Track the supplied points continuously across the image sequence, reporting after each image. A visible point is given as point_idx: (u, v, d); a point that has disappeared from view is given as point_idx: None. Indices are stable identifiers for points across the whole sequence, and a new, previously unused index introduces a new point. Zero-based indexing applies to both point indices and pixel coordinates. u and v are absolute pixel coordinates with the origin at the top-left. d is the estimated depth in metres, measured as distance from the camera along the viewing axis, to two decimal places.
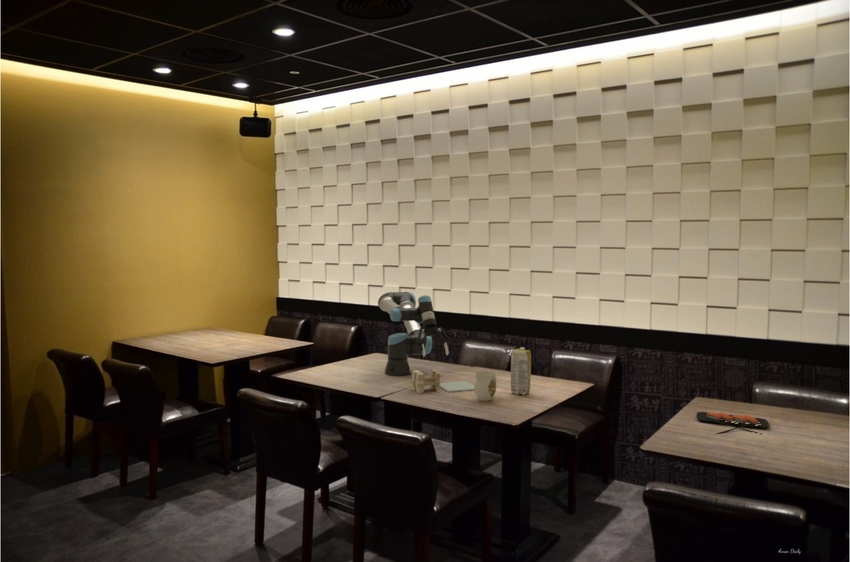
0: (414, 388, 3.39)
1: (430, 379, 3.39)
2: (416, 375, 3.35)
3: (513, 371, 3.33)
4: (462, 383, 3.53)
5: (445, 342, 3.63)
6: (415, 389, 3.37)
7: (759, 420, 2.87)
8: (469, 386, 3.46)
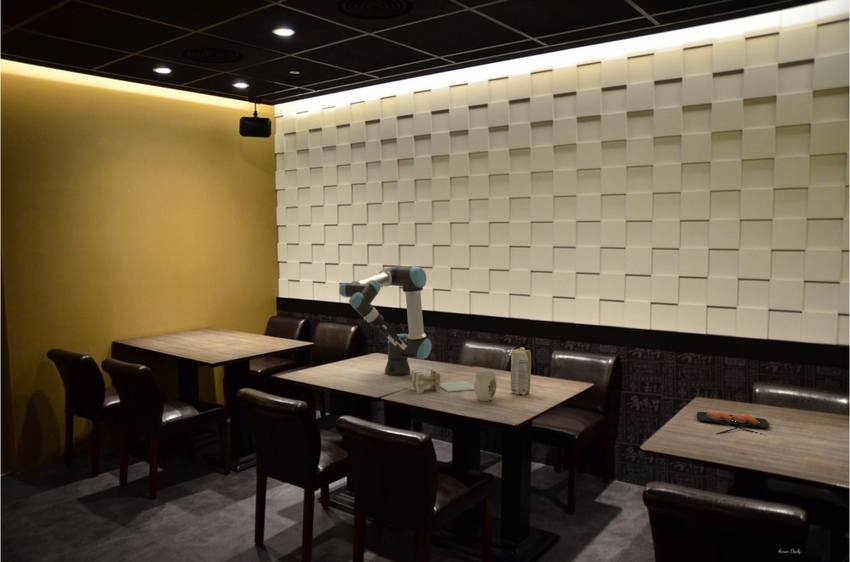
0: (414, 388, 3.39)
1: (430, 379, 3.39)
2: (416, 375, 3.35)
3: (513, 371, 3.33)
4: (462, 383, 3.53)
5: (396, 338, 3.25)
6: (415, 389, 3.37)
7: (759, 420, 2.87)
8: (469, 386, 3.46)
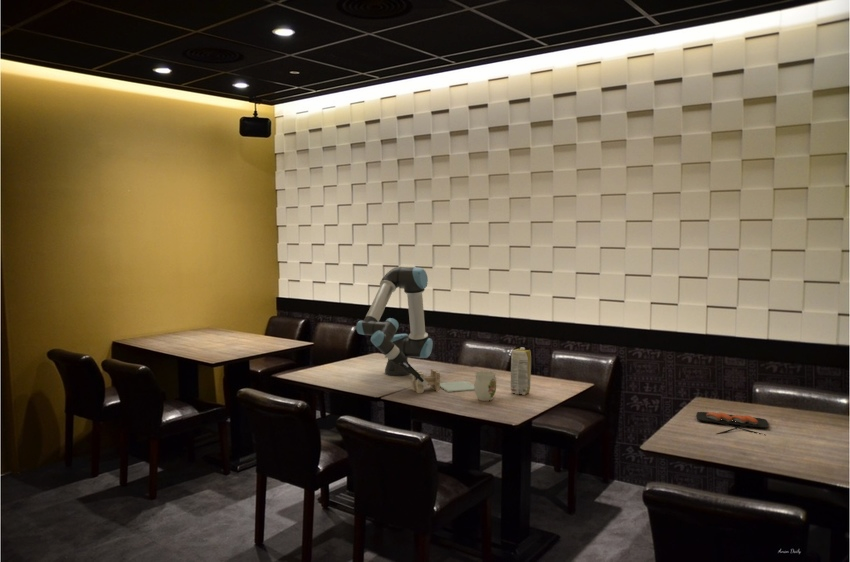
0: (414, 388, 3.39)
1: (430, 379, 3.39)
2: None
3: (513, 371, 3.33)
4: (462, 383, 3.53)
5: None
6: (415, 389, 3.37)
7: (759, 420, 2.87)
8: (469, 386, 3.46)
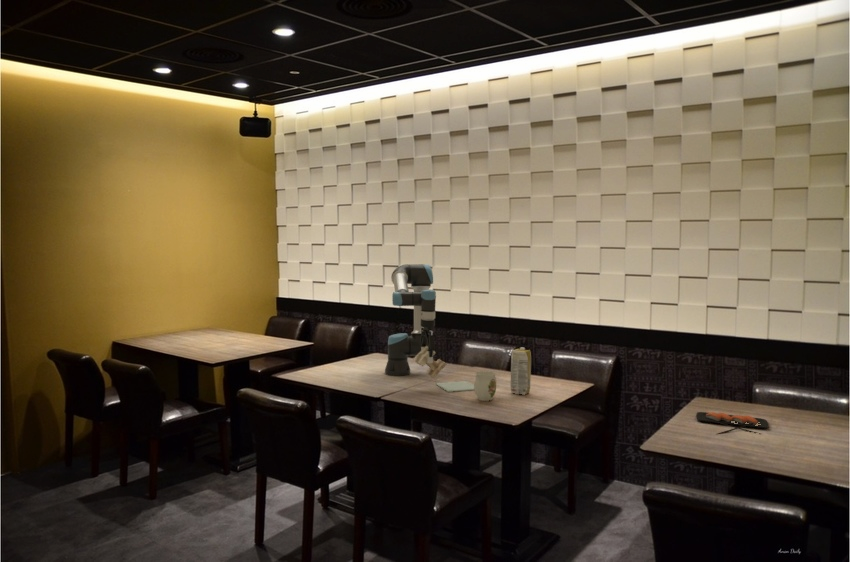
0: (416, 359, 3.38)
1: (434, 363, 3.39)
2: None
3: (513, 371, 3.33)
4: (462, 383, 3.53)
5: None
6: (417, 359, 3.37)
7: (759, 420, 2.87)
8: (469, 386, 3.46)
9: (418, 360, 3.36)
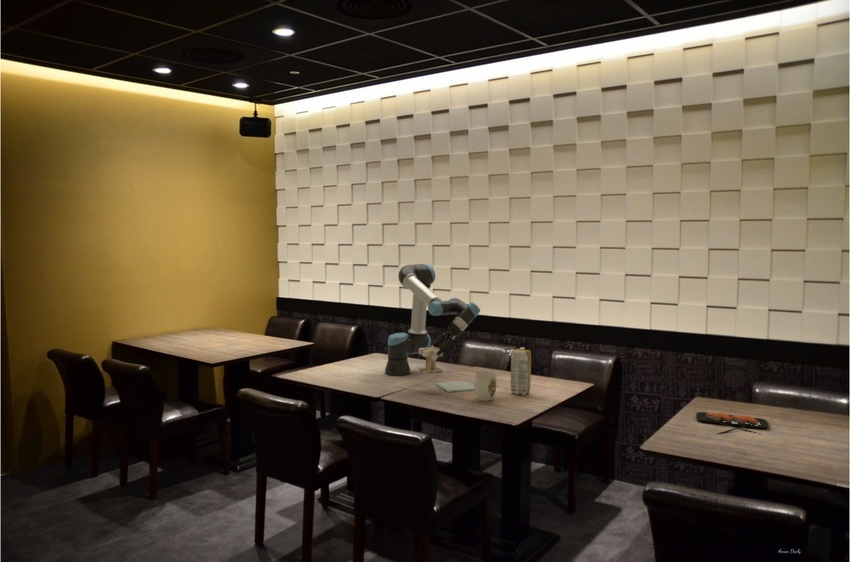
0: (423, 349, 3.40)
1: (433, 364, 3.39)
2: None
3: (513, 371, 3.33)
4: (462, 383, 3.53)
5: None
6: (424, 350, 3.38)
7: (759, 420, 2.87)
8: (469, 386, 3.46)
9: (424, 350, 3.37)
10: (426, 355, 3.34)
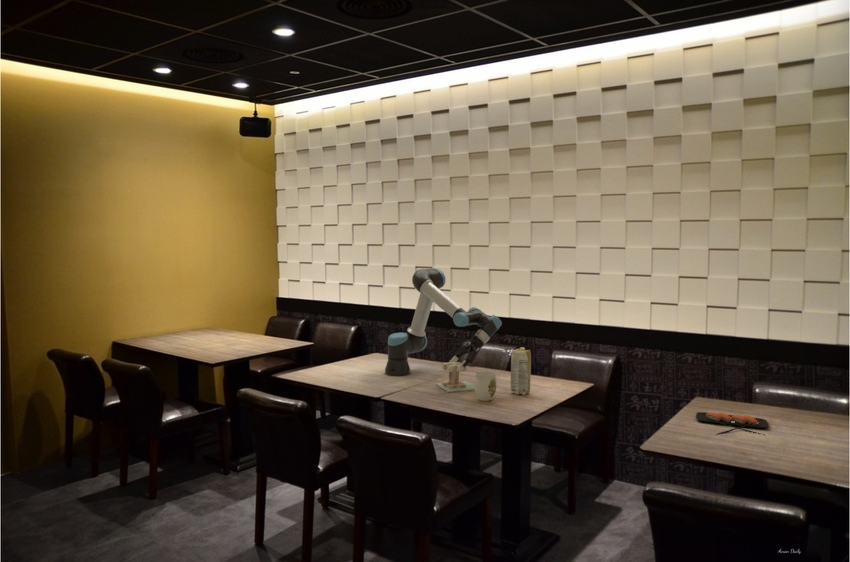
0: (446, 364, 3.45)
1: (457, 379, 3.45)
2: None
3: (513, 371, 3.33)
4: None
5: None
6: (448, 364, 3.44)
7: (759, 420, 2.87)
8: (469, 386, 3.46)
9: (448, 365, 3.42)
10: (450, 370, 3.40)
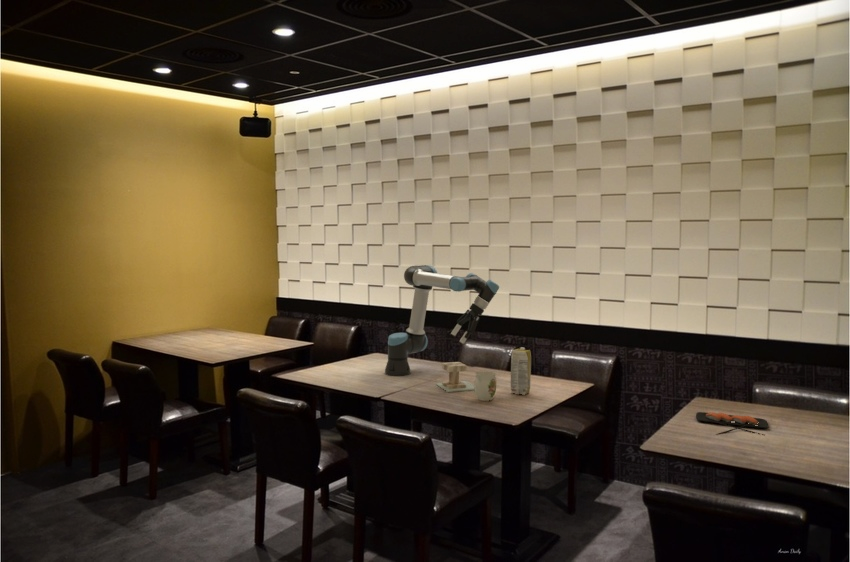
0: (446, 364, 3.45)
1: (457, 379, 3.45)
2: (462, 364, 3.45)
3: (513, 371, 3.33)
4: None
5: None
6: (448, 364, 3.44)
7: (758, 420, 2.87)
8: (469, 386, 3.46)
9: (448, 365, 3.42)
10: (450, 370, 3.40)
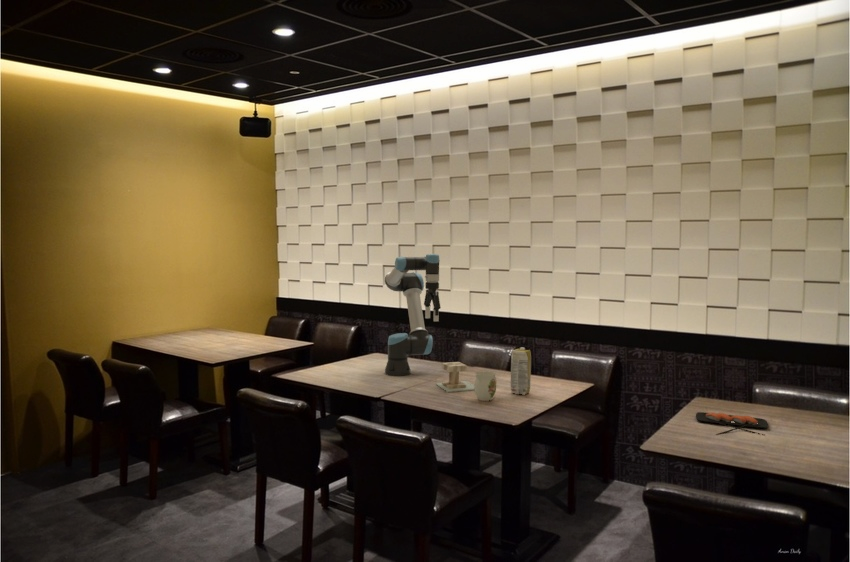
0: (446, 364, 3.45)
1: (457, 379, 3.45)
2: (462, 364, 3.45)
3: (513, 371, 3.33)
4: None
5: None
6: (448, 364, 3.44)
7: (758, 420, 2.87)
8: (469, 386, 3.46)
9: (448, 365, 3.42)
10: (450, 370, 3.40)
